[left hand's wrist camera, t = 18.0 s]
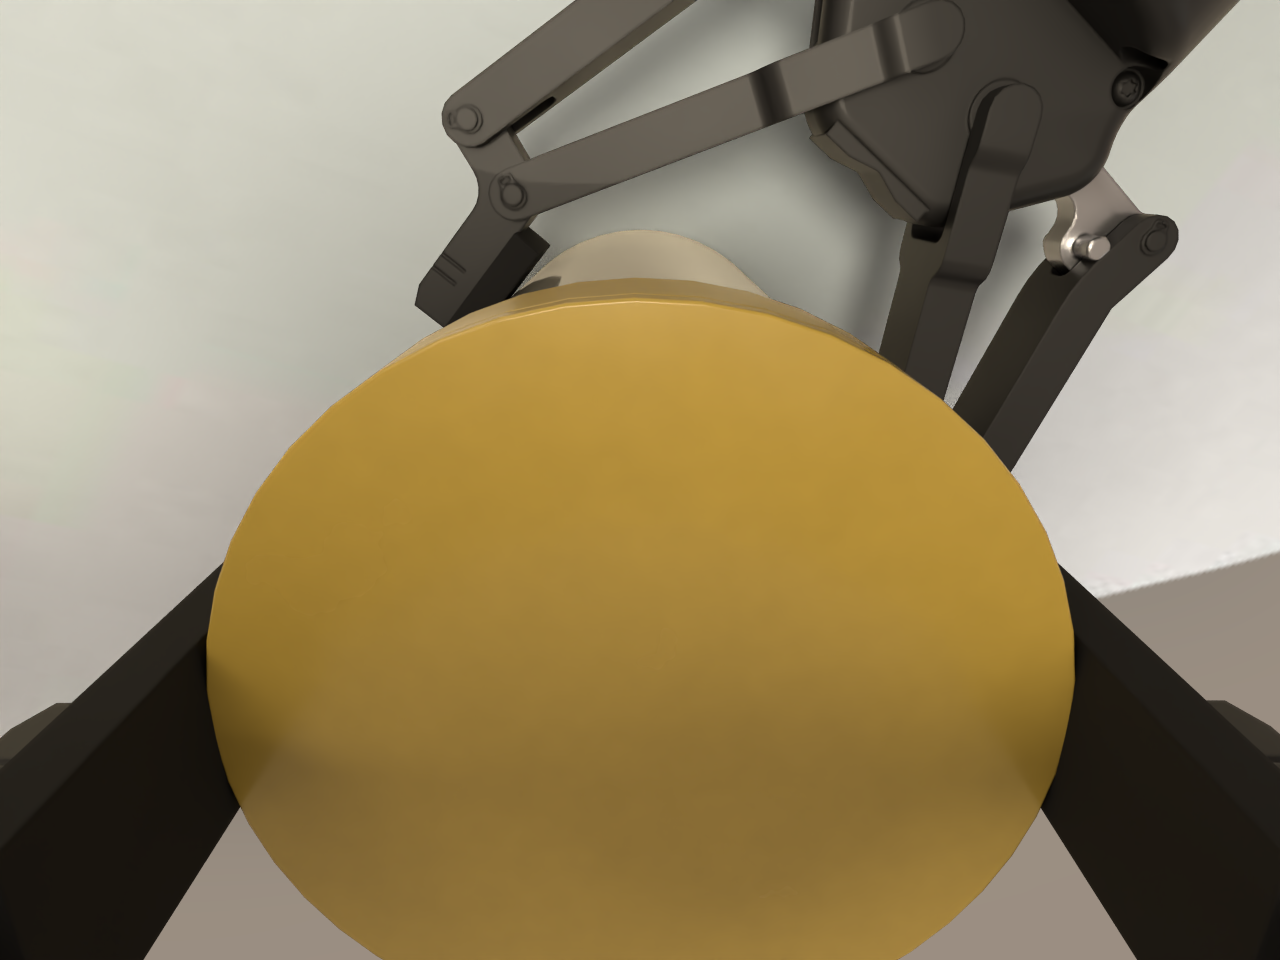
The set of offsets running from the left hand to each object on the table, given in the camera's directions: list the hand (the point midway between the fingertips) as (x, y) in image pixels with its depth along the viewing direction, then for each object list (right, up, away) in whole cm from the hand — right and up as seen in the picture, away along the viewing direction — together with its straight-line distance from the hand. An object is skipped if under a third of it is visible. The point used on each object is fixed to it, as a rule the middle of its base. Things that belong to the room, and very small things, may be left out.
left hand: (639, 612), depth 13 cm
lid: (0, -1, -3) cm, 3 cm away
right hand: (-3, 0, +10) cm, 11 cm away
